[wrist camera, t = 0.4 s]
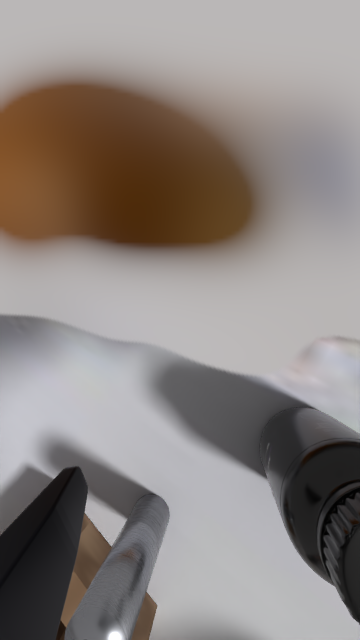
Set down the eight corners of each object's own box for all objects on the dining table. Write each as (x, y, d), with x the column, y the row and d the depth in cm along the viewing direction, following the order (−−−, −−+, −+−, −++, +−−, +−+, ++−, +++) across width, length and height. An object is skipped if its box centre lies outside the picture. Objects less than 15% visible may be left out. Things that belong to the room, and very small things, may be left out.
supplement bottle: (240, 446, 21) (262, 559, 10) (300, 387, 21) (397, 429, 9) (306, 517, 20) (427, 752, 8) (370, 455, 20) (588, 603, 8)
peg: (176, 515, 21) (138, 651, 12) (152, 541, 21) (93, 699, 12) (151, 486, 22) (95, 592, 12) (127, 511, 22) (52, 638, 12)
